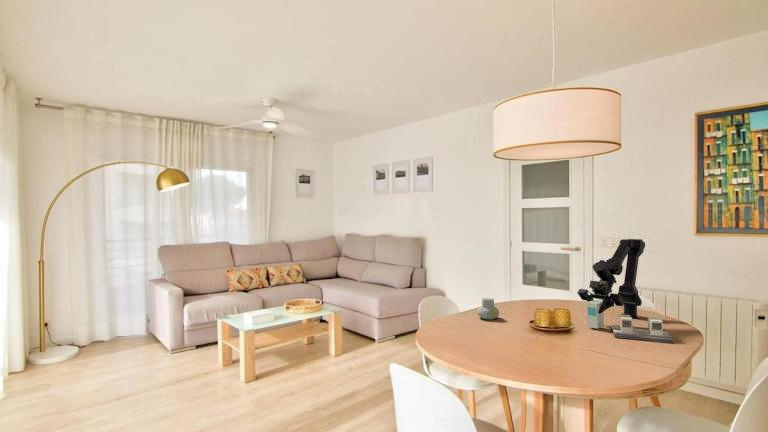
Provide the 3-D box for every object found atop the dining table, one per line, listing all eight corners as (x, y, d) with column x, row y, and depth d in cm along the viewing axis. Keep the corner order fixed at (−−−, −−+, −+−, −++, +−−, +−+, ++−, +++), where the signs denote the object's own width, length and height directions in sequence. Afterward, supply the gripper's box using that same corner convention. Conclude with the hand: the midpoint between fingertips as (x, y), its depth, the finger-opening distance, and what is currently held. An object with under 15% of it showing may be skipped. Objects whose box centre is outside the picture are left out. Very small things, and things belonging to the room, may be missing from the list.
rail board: (611, 328, 178) (611, 312, 178) (665, 333, 169) (665, 315, 169) (614, 337, 165) (614, 319, 165) (673, 343, 157) (672, 324, 157)
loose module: (593, 324, 183) (593, 300, 183) (603, 326, 179) (603, 302, 179) (587, 326, 180) (586, 302, 180) (597, 328, 176) (596, 304, 176)
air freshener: (493, 315, 207) (493, 296, 207) (502, 319, 199) (501, 299, 199) (474, 317, 204) (474, 297, 204) (482, 321, 196) (482, 301, 196)
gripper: (578, 271, 189) (566, 298, 183) (620, 276, 174) (608, 305, 168) (588, 286, 194) (576, 312, 188) (629, 291, 178) (617, 320, 172)
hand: (593, 312), depth 179 cm, fingers closed on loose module, 4 cm apart
